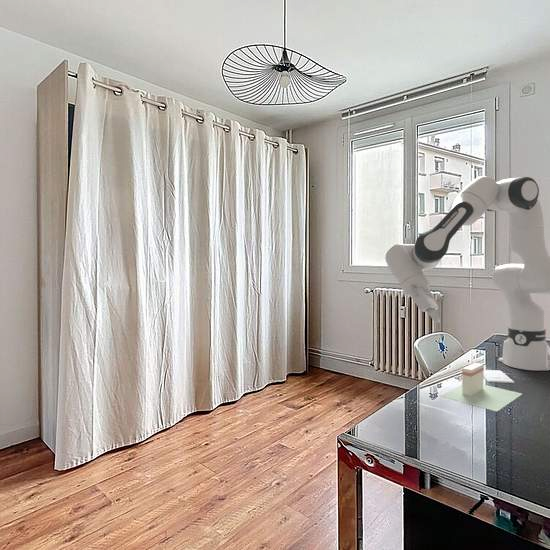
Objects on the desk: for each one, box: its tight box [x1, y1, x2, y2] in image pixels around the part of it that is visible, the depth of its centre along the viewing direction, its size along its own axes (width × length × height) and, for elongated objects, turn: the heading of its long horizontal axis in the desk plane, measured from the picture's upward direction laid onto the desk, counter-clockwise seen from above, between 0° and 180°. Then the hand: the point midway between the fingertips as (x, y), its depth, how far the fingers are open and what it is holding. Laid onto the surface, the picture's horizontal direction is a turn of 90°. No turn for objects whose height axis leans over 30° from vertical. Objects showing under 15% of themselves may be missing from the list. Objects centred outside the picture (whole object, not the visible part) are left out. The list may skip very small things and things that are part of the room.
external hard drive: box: [483, 369, 516, 384], centre depth 136 cm, size 2×8×12 cm
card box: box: [461, 362, 485, 396], centre depth 122 cm, size 9×3×8 cm, turn 130°
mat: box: [440, 384, 523, 412], centre depth 120 cm, size 20×16×1 cm
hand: (438, 322), depth 131 cm, fingers closed
